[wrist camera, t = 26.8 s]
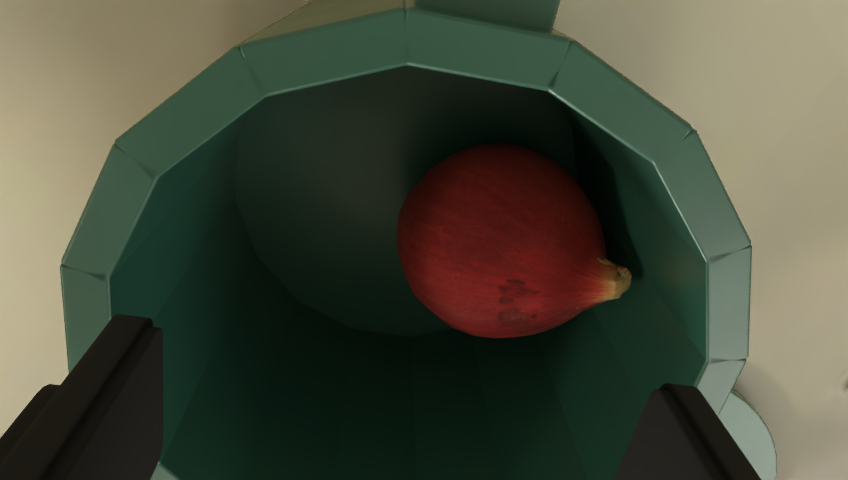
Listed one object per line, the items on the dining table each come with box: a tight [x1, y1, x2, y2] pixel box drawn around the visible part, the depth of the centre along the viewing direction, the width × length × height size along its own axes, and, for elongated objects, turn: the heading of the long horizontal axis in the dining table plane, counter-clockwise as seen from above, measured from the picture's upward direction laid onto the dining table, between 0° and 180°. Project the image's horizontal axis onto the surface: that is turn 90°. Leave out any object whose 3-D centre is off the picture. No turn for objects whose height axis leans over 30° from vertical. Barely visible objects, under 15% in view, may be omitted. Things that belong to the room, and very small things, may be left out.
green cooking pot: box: [60, 0, 752, 480], centre depth 17 cm, size 14×19×10 cm
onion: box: [397, 142, 632, 338], centre depth 18 cm, size 6×6×8 cm
